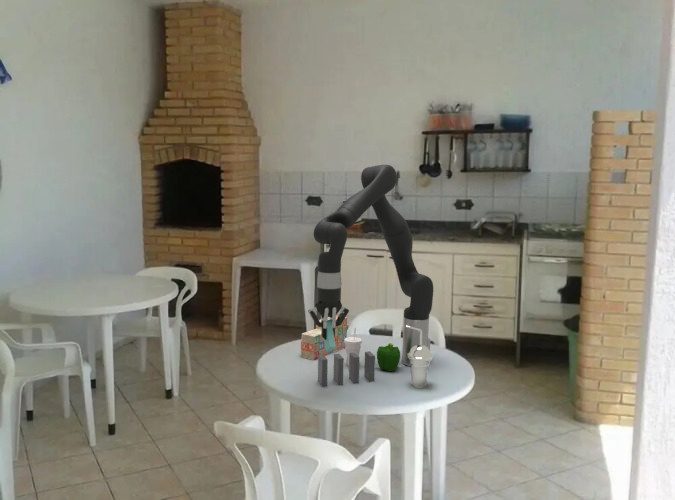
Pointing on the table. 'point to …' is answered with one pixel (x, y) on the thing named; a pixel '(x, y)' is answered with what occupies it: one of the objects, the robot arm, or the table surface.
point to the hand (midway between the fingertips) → (328, 338)
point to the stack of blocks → (322, 341)
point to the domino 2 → (329, 337)
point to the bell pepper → (388, 357)
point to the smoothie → (352, 345)
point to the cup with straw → (419, 362)
